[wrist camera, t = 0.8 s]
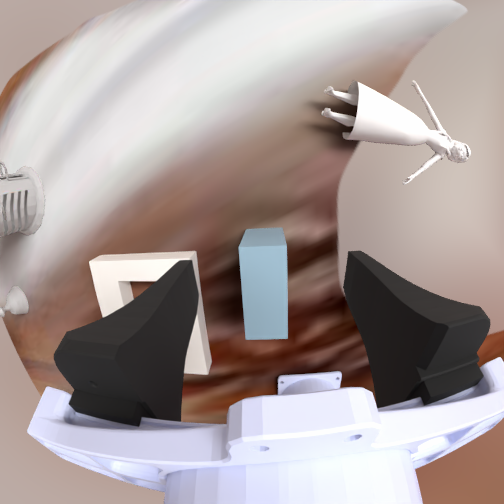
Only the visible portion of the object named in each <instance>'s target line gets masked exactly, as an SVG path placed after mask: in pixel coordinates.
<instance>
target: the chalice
mask: <svg viewBox="0 0 504 504" xmlns="http://www.w3.org/2000/svg"><path fill="white" fill-rule="evenodd" d="M28 309H29V306H28V301H27V298H26V296H25V294H24V293H23V291H22V290H21V289H20V288H19V287H17V286H13V287H12V289H11V291H10V292H9V294H8V295H7V298H6V305H5V307H2V308H1V307H0V316H2V317H4V314H5V313H6V312H7V311H11V312H12V313H13V314H17V315H18V314H26V313H27V312H28Z"/></svg>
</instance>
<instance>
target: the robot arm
mask: <svg viewBox="0 0 504 504" xmlns="http://www.w3.org/2000/svg"><path fill="white" fill-rule="evenodd" d="M343 288H344V292H345V296H346V299H347V303H348V306H349V308H350V311H351V313H352V315H353V318H354V320H355V322H356V325H357V327H358V330H359V332H360V334H361V337H362V339H363V342H364V345H365V348H366V352H367V356H368V360H369V364H370V368H371V373H372V378H373V383H374V389H375V396H376V403H377V406H376V403H375V400H374V397H373V393H372V392H370V391H368V390H366V389H364V388H362V387H345V388H340V382H341V376H342V374H341V372H339V371H336V372H326V373H314V374H299V375H281V376H279V377H278V395H266V396H257V397H251V398H245V399H243V400H241V401H239V402H237V403H235V404H233V405H231V406H230V407H229V410H228V413H227V424H205V423H189V422H181V403H182V388H183V377H184V368H185V360H186V355H187V350H188V346H189V342H190V338H191V334H192V331H193V327H194V323H195V319H196V315H197V310H198V301H199V292H198V287H197V282H196V277H195V272H194V267H193V262H192V260H179V261H178V262H177V263H175V264H174V265H173V266H172V267H171V268H170V269H169V270H168V271H167V272H166V273H165V274H164V275H162V276H161V277H160V278H159V279H158V280H157V281H156V282H155V283H154V284H152V285H151V286H150V287H149V288H148V289H146V290H145V291H144V292H143V293H142V294H140V295H139V296H138V297H136V298H135V299H134V300H132V301H131V302H129V303H128V304H126V305H125V306H123V307H122V308H120V309H118V310H116V311H115V312H113V313H111V314H109V315H108V316H106V317H104V318H102V319H100V320H97V321H95V322H93V323H91V324H88V325H86V326H83V327H80V328H77V329H74V330H72V331H68V332H66V334H65V336H64V338H63V339H62V341H61V343H60V344H59V346H58V348H57V350H56V351H55V353H54V360H55V363H56V366H57V367H58V369H59V371H60V372H61V373H62V374H63V376H64V377H65V378H66V380H67V381H68V382H69V383H70V384H71V386H72V387H73V388H74V392H73V394H72V395H71V394H69V393H68V392H65V391H63V390H59V389H56V388H52V387H49V386H47V387H46V389H45V391H44V393H43V395H42V397H41V400H40V402H39V404H38V406H37V409H36V411H35V413H34V415H33V418H32V420H31V423H30V425H29V428H28V430H27V432H28V433H29V434H30V435H31V436H32V437H34V438H35V439H36V440H37V441H39V442H40V443H41V444H43V445H44V446H45V447H47V448H48V449H49V450H51V451H52V452H54V453H55V454H56V455H58V456H59V457H61V458H63V459H65V460H67V461H70V462H72V463H75V464H77V465H80V466H82V467H84V468H87V469H90V470H92V471H95V472H98V473H100V474H103V475H106V476H109V477H112V478H115V479H118V480H121V481H124V482H127V483H131V484H134V485H137V486H141V487H145V488H149V489H153V490H157V491H161V492H165V499H164V504H423V503H422V498H421V493H420V489H419V485H418V480H417V477H416V473H415V469H416V468H418V467H421V466H423V465H425V464H427V463H429V462H432V461H434V460H436V459H438V458H440V457H442V456H444V455H446V454H448V453H450V452H452V451H454V450H455V449H457V448H459V447H461V446H463V445H464V444H466V443H468V442H470V441H472V440H473V439H475V438H477V437H478V436H480V435H482V434H483V433H485V432H487V431H488V430H490V429H491V428H493V427H494V426H495V425H496V424H497V423H498V422H499V421H500V420H502V419H503V418H504V362H503V361H502V359H501V357H498V358H496V359H494V360H492V361H490V362H487V363H486V364H484V365H483V366H481V367H480V368H479V366H478V364H477V362H478V361H479V357H478V355H477V351H478V349H479V348H480V346H481V345H482V343H483V341H484V340H485V338H486V336H487V334H488V332H489V328H490V319H489V318H488V316H487V315H486V314H485V312H484V311H483V310H482V308H481V307H479V306H474V305H469V304H464V303H460V302H457V301H454V300H450V299H447V298H444V297H441V296H439V295H436V294H434V293H431V292H429V291H427V290H425V289H422V288H420V287H418V286H416V285H414V284H412V283H411V282H409V281H407V280H405V279H404V278H402V277H400V276H399V275H397V274H396V273H394V272H392V271H391V270H389V269H388V268H386V267H385V266H383V265H382V264H380V263H379V262H377V261H376V260H375V259H373V258H371V257H370V256H368V255H367V254H365V253H364V252H362V251H349V252H348V258H347V266H346V273H345V280H344V286H343ZM337 377H338V378H337ZM281 381H283V382H281Z"/></svg>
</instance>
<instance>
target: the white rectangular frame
mask: <svg viewBox="0 0 504 504" xmlns="http://www.w3.org/2000/svg"><path fill="white" fill-rule="evenodd" d="M179 260H192V262H193V267H194V272H195V277H196V282H197V287H198V292H199V301H198V310H197V315H196V319H195V323H194V327H193V331H192V334H191V338H190V342H189V346H188V350H187V355H186V360H185V368H184V373H188V374H204V375H208V373H209V369H210V366H211V363H212V360H211V354H210V348H209V342H208V336H207V330H206V323H205V316H204V309H203V302H202V295H201V288H200V280H199V272H198V263H197V255H196V251H187V252H163V253H139V254H115V255H100V256H98V257H96V258H95V259H93V260H91V261H89V263H90V268H91V273H92V277H93V281H94V286H95V290H96V294H97V298H98V301H99V305H100V309H101V312H102V316H103V318H104V317H106V316H108V315H109V314H111V313H113V312H115V311H116V310H118V309H120V308H122V307H123V306H125V305H126V304H128V303H129V302H131V301H132V300H134V298H133V294H132V289H131V284H130V281H157V280H158V279H159V278H160V277H161V276H162V275H164V274H165V273H166V272H167V271H168V270H169V269H170V268H171V267H172V266H173V265H174V264H175V263H177V262H178V261H179Z"/></svg>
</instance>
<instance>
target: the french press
mask: <svg viewBox="0 0 504 504" xmlns="http://www.w3.org/2000/svg"><path fill="white" fill-rule="evenodd" d="M1 164H2V165H3V167H4V168H5V173H6V175H3V173H2V168H1ZM0 173H1V175H2V176H0V179H1V180H0V237H3V236H6V235H9V234H12V233H15V232H18V231H19V232H20V233H22V234H25V235H31V234H34V233H35V232H36V231H37V229H38V228H39V227H40V225H41V222H42V219H43V216H44V209H45V195H44V189H43V184H42V182H41V179H40V177H39V175H38V173H37V172H36V171H35V170H34V169H33V168H32V167H26V166H24V167H22V168H20V169H19V170H17V172H16V173H15V174H7V169H6V167H5V165H4V163H3V162H1V161H0ZM6 178H7V179H6ZM2 206H4V209H5V212H6V217H7V220H5V219H4V215H3V212H2Z"/></svg>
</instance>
